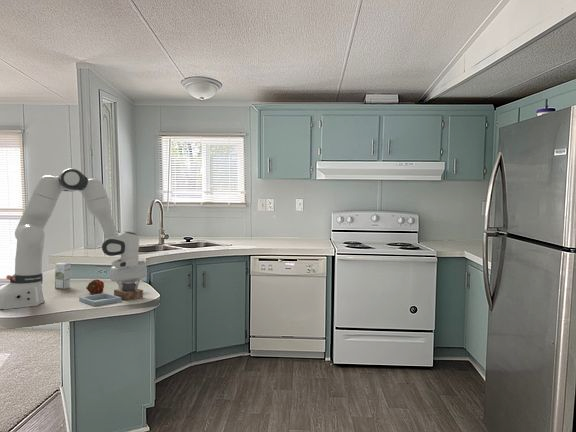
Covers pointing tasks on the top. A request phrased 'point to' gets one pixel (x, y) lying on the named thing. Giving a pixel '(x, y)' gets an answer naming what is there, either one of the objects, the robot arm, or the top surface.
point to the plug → (128, 286)
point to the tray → (95, 303)
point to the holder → (128, 294)
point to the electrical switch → (129, 281)
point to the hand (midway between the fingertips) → (128, 287)
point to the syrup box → (62, 275)
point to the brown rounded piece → (95, 286)
